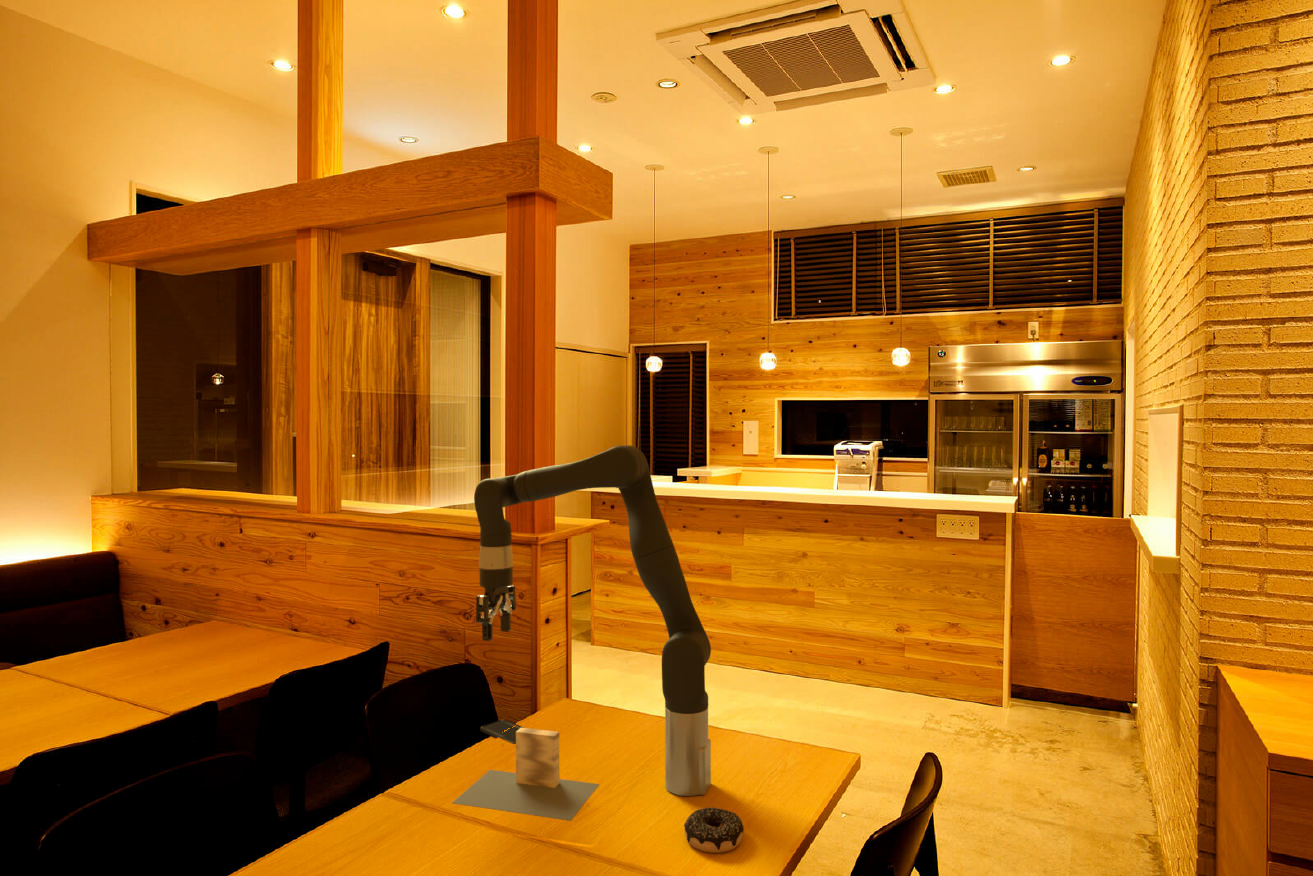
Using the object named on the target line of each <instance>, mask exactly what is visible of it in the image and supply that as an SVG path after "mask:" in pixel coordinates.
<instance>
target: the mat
mask: <svg viewBox="0 0 1313 876" xmlns="http://www.w3.org/2000/svg"><path fill="white" fill-rule="evenodd" d="M599 786H600V783H593V782H586V781H579V780H570V779H563V778H559V784H558V785H557V786H556V787H555V788H551V787H543V786H536V785H529V784H521V783H516V772H511V771H501V770H494V769H489V770H488V771H487V772H486V773H485V774H483V775H482V776H481V777H480V778H479V779H478V780H476V781H475V782H474V783H473V784H471V786H470V787H468V789H466V790H465V791H464V792H463V793H462V794H460V795H459V796H458V797H457V798H455V800H453V801H452V802H451V804H456V805H462V806H469V807H475V808H483V809H490V810H495V811H503V812H510V813H517V814H523V815H529V816H530V815H531V816H537V817H544V818H549V819H550V818H551V819H557V820H565V821H570V822H571V821H572V820H573V818H574V817H575V816H576V815H577V814H578V813H579V811H580V810H581V809H582V807H583V806H584V805H585V803H586V802H587V801H588V799H590V797H591V796H592V795H593V794H594V792H595V791H596V790H597V789H598V787H599Z"/></svg>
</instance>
